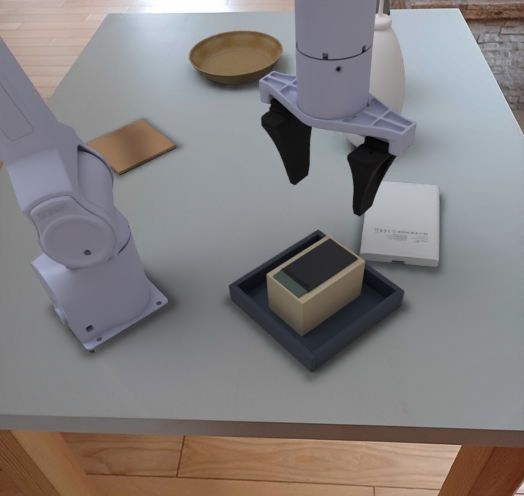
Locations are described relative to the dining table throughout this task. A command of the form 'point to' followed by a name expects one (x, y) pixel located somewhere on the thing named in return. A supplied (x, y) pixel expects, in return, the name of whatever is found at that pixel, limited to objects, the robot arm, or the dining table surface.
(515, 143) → the dining table surface
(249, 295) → the tray
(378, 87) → the sauce bottle
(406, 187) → the hard drive
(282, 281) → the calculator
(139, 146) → the coaster
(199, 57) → the plant saucer
